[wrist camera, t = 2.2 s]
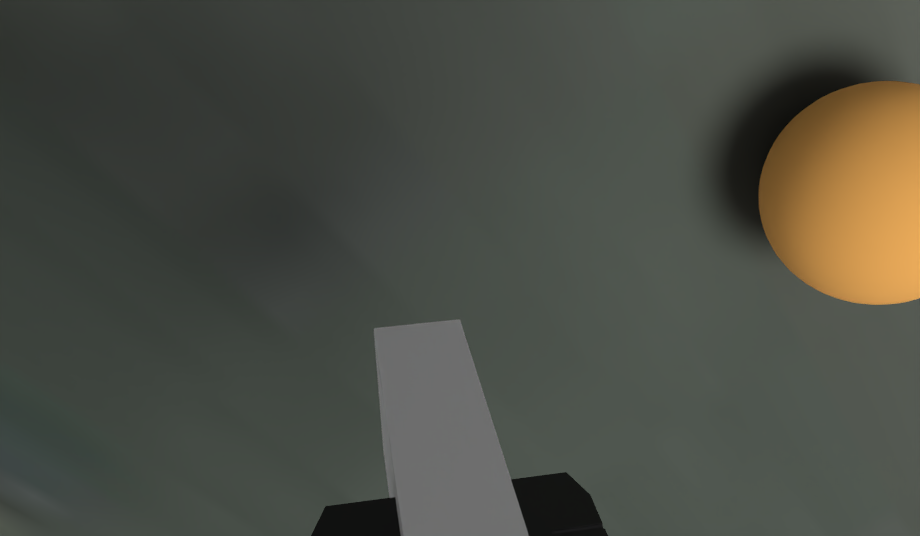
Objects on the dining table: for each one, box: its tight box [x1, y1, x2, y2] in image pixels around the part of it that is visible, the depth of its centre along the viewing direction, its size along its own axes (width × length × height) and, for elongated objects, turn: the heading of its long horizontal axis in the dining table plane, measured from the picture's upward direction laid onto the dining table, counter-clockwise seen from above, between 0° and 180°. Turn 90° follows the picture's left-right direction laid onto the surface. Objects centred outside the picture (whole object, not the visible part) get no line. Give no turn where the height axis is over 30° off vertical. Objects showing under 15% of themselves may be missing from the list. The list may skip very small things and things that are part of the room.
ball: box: [759, 81, 920, 305], centre depth 21 cm, size 6×6×6 cm
